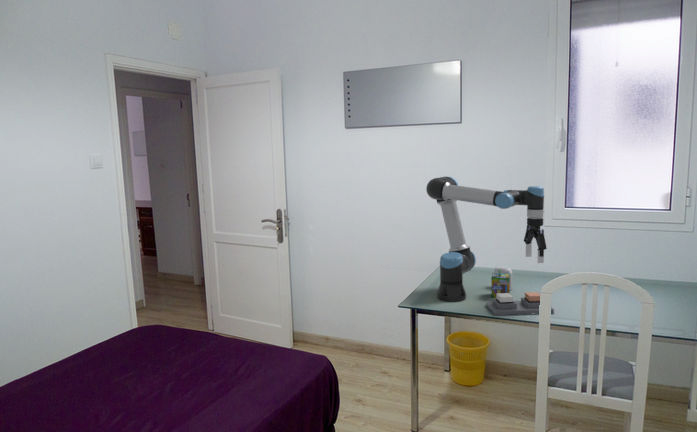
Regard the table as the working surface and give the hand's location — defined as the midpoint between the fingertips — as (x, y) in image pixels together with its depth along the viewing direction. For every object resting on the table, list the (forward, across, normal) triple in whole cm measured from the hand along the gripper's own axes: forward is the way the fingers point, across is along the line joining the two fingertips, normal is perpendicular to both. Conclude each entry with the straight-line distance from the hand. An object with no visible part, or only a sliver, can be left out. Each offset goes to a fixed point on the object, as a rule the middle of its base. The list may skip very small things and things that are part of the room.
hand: (534, 259), depth 232 cm
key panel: (+22, -9, +11) cm, 26 cm away
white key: (+17, -8, +18) cm, 26 cm away
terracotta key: (+17, -9, +4) cm, 20 cm away
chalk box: (+23, +12, +12) cm, 29 cm away
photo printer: (+23, +26, +6) cm, 35 cm away
